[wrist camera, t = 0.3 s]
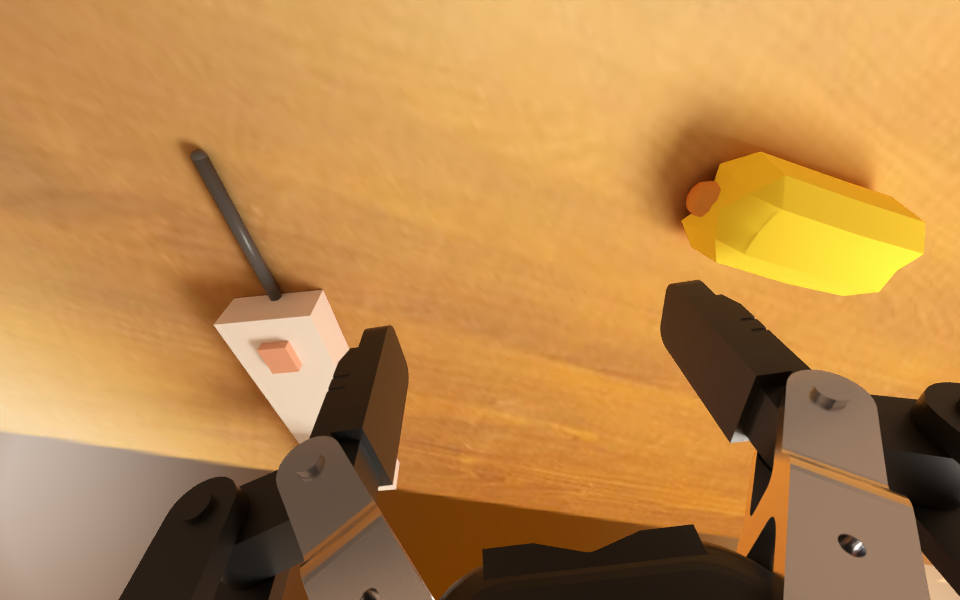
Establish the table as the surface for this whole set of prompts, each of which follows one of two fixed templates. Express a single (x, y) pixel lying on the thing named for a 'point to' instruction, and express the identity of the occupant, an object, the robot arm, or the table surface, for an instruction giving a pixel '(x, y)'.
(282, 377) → the power strip
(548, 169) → the table surface
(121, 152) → the table surface
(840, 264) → the yellow banana
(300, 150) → the table surface
